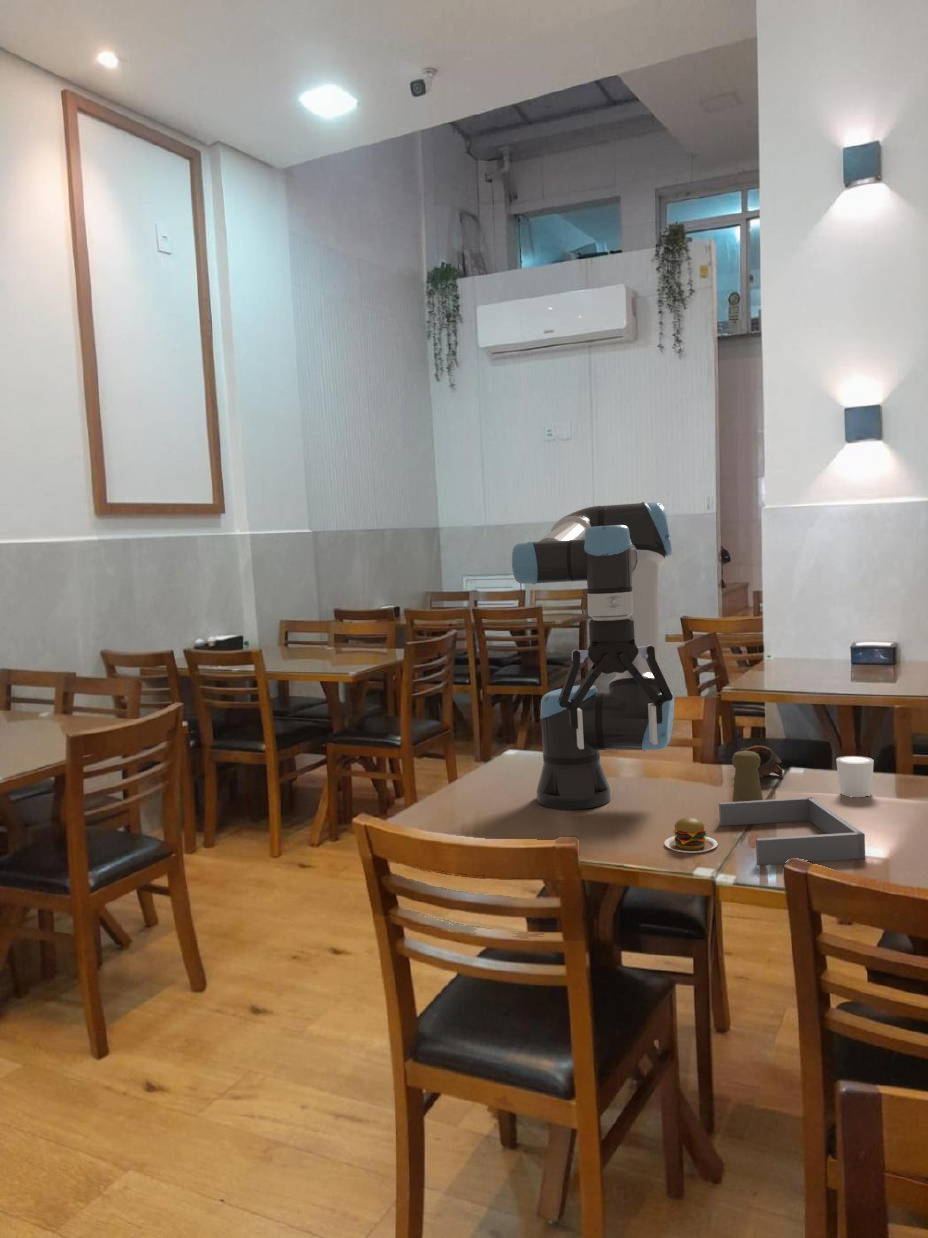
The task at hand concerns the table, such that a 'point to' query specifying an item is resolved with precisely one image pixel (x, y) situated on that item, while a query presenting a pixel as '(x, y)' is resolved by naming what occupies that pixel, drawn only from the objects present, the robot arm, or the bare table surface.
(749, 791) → the olive green pepper shaker
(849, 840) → the box
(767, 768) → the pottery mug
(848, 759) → the white cup
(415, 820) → the table surface
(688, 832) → the hamburger
